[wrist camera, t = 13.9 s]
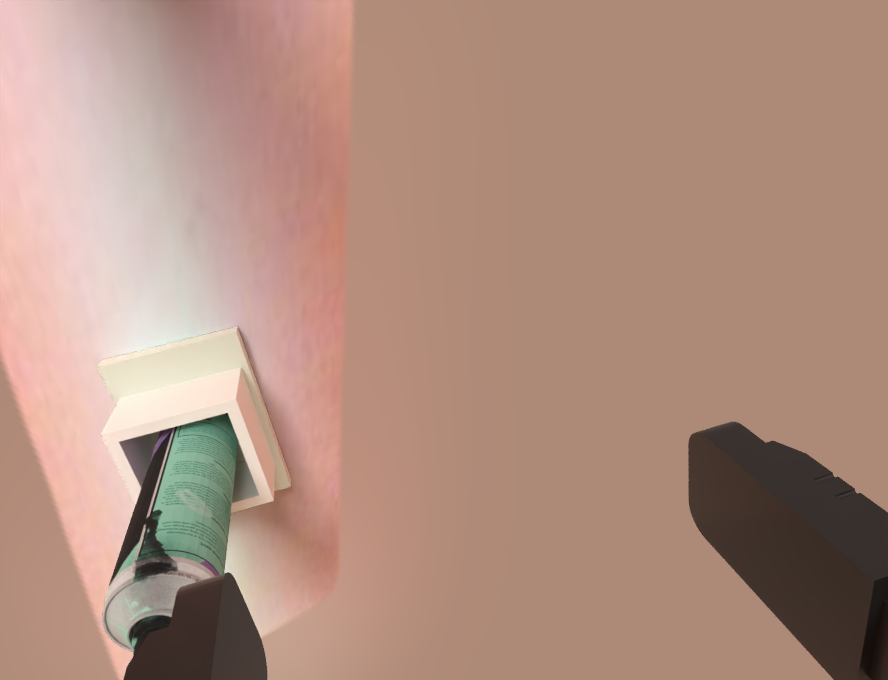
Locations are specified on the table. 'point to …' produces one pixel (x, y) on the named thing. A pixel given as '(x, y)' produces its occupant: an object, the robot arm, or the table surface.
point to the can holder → (192, 410)
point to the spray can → (173, 528)
